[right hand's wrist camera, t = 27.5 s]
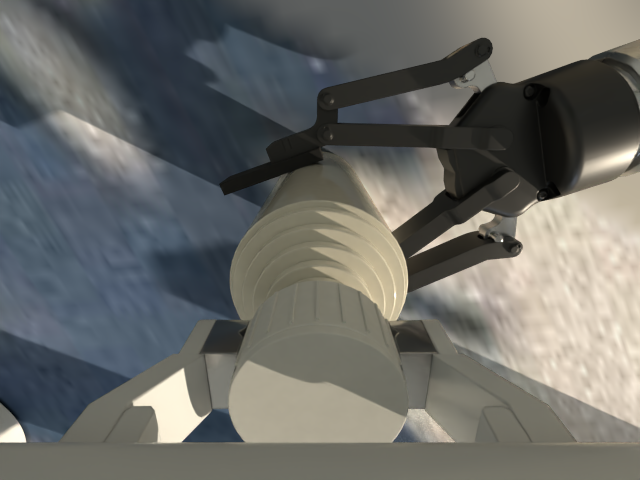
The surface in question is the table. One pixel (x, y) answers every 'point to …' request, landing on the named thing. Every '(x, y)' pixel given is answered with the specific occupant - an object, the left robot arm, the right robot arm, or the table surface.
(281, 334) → the cap
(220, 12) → the table surface
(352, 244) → the bottle
